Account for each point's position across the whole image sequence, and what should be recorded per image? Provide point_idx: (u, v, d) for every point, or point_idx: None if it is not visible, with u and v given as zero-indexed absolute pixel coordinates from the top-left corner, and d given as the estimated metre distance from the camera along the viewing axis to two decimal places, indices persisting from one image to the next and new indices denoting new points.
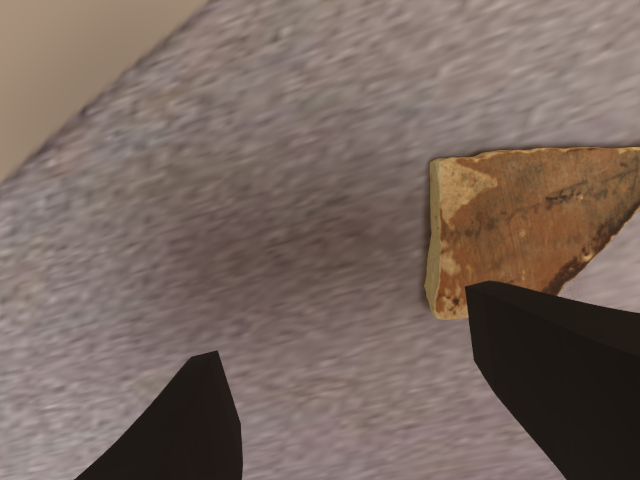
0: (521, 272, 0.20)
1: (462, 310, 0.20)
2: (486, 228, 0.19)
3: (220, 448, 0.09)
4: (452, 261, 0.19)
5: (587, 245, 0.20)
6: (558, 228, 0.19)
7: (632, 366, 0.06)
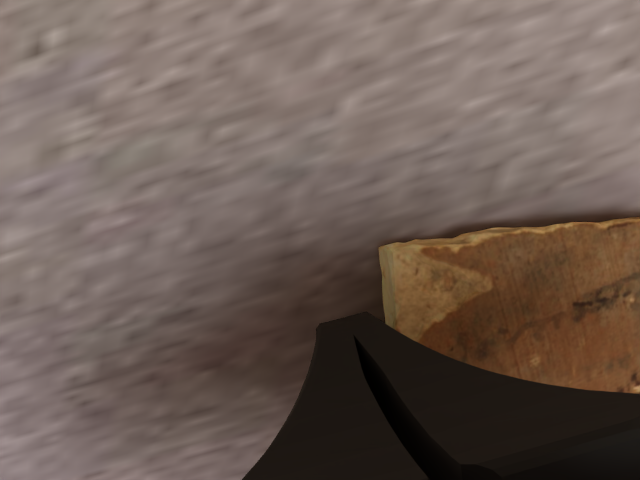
0: None
1: None
2: (475, 356, 0.11)
3: None
4: None
5: None
6: (593, 349, 0.12)
7: (415, 426, 0.06)
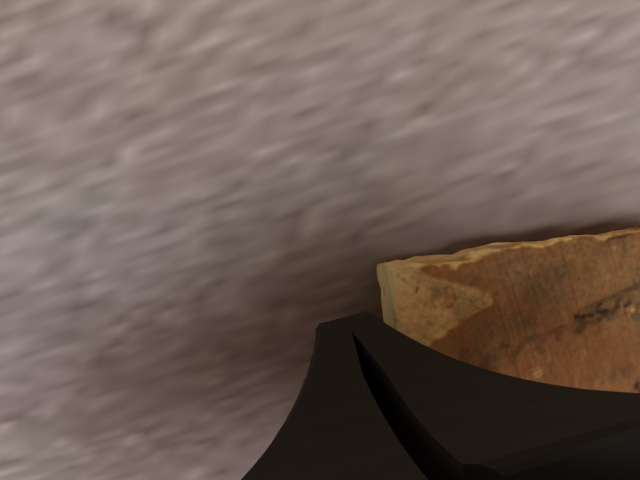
0: None
1: None
2: None
3: None
4: None
5: None
6: (595, 360, 0.12)
7: (416, 426, 0.06)
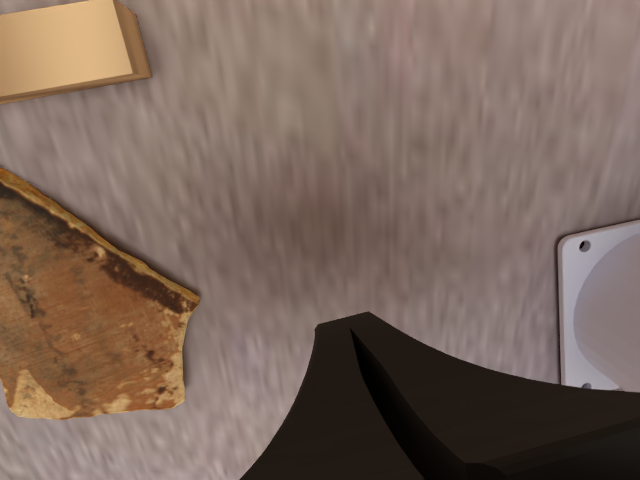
0: (123, 328, 0.18)
1: (172, 380, 0.19)
2: (74, 375, 0.18)
3: None
4: (115, 402, 0.19)
5: (84, 256, 0.17)
6: (66, 297, 0.17)
7: (418, 425, 0.06)
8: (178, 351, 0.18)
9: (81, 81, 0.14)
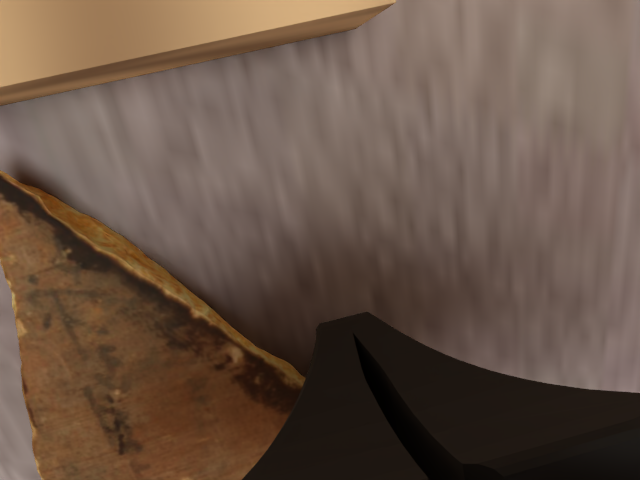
0: None
1: None
2: None
3: None
4: None
5: (210, 362, 0.11)
6: (177, 424, 0.11)
7: (416, 426, 0.06)
8: None
9: (303, 20, 0.07)
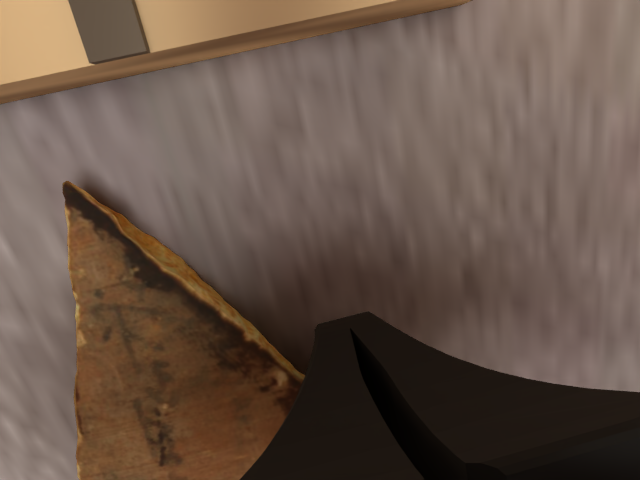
0: None
1: None
2: None
3: None
4: None
5: (256, 383, 0.11)
6: (217, 441, 0.11)
7: (418, 425, 0.06)
8: None
9: None
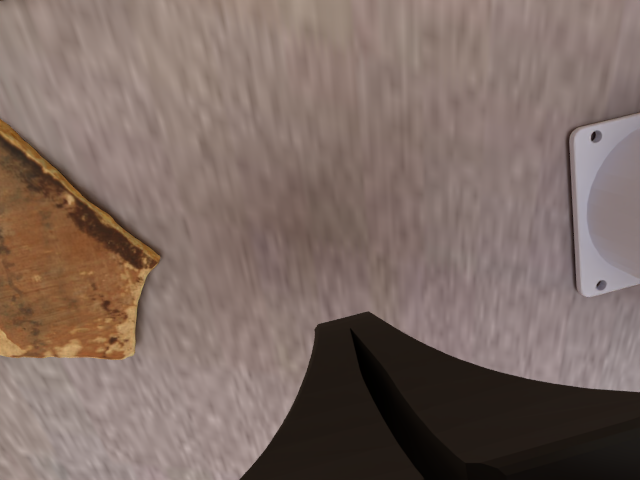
0: (83, 275, 0.19)
1: (124, 332, 0.20)
2: (30, 315, 0.19)
3: None
4: (66, 346, 0.19)
5: (53, 202, 0.18)
6: (32, 239, 0.18)
7: (418, 425, 0.06)
8: (133, 305, 0.19)
9: None
